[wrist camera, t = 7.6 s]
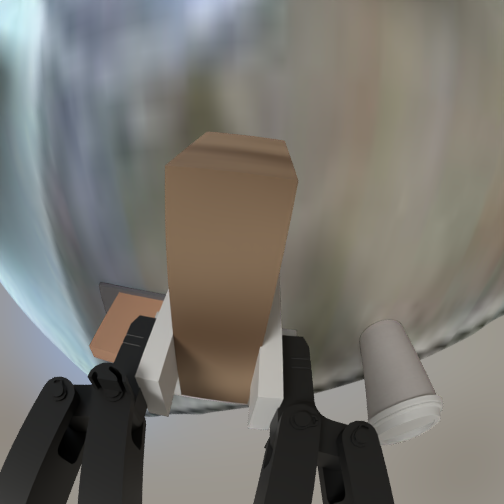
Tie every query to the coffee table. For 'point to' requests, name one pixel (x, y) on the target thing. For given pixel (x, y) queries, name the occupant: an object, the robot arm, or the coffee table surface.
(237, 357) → the tapered wooden block
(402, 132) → the coffee table surface
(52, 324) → the coffee table surface
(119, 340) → the tile
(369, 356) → the coffee cup
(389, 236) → the coffee table surface
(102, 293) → the mat
